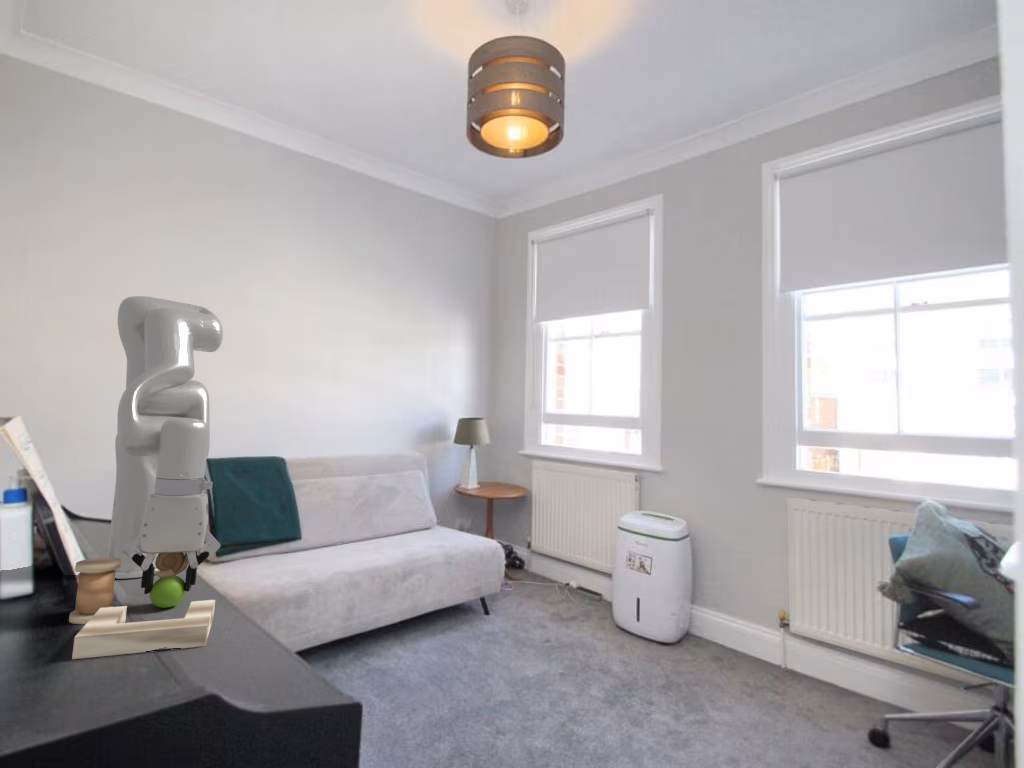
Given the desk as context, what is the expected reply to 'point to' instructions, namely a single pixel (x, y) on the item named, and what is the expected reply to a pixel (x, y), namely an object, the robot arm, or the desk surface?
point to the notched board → (142, 632)
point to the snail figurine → (169, 579)
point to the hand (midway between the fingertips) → (168, 589)
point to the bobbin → (94, 587)
